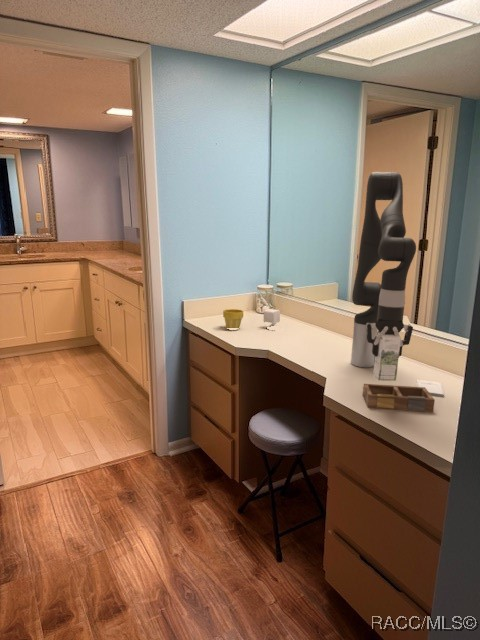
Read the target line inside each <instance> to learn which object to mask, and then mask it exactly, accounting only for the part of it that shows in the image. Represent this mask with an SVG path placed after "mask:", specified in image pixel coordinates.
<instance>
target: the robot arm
mask: <svg viewBox="0 0 480 640" xmlns="http://www.w3.org/2000/svg"><path fill="white" fill-rule="evenodd" d="M402 177H403V176H402V175H401V174H400V173H399V172H396V171H372V172H371V173H370V174H369V176H368V180H367V185H366V196H365V207H364V219H363V225H362V231H361V237H360V242H359V243H360V244H359V250H358V251H359V252H358V261H357V268H356V274H355V279H354V283H353V289H352V296H351V298H352V303H353V304H354V305H355V306H362V307H363V306H364V307H369V308H368V309H366V310H364V311H362V312H359V313H357V314H355V315H354V320H353V321H354V322H353V334H352V345H351V355H350V356H351V357H350V364H351V365H352V366H355V367H358V368H372V367H373V365H374V356H375V357H377V353H378V345H377V344H378V342H379V341H380V339H381V335H384V334H388V335H395V336H400V337H401V335H400V332H401V331H402V330H404V332H405V334H404V336H403V339H401V342H400V350H399V357H401V356H402V353H403V347H404V346H406V345H407V346H408V345H410V342H411V338H412V334H413V330H414V327H413V326H412V325H411V324H404V313H405V312H404V311H405V304H406V287H407V286H406V283H407V276H408V273H409V270H410V268H411V265H412V262H413V261H414V257H415V254H416V252H417V244H416V242H415V241H414V239H413V238H412V237H405V236H406V233H407V229H406V224H405V220H404V213H403V211H404V207H403V205H404V201H403V200H404V193H403V192H404V189H403V188H404V187H403V185H404V183H403V178H402ZM377 201H390V203H389V204H388V205H386V208H385V209H384V210H383V212H382V213H381V216H379V213H378V210H377V207H376V202H377ZM381 260H382V261H384V262H398V263H399V262H400V263H399V264H398V265H397V266H396V267H393V268H389V269H385V270H382V271H383V272H382V273H381V283H380V282H371V281H370V282H368V281H366V279H367V277H368V276H369V273H370V272H371V271H372V270H373V269H374V268H375V267H376V266H377V264H379V262H380V261H381ZM378 332H380V334H379V335H378Z"/></svg>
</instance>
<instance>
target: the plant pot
mask: <svg viewBox="0 0 480 640" xmlns="http://www.w3.org/2000/svg"><path fill="white" fill-rule="evenodd" d="M222 316H223V318H224V322H225V328H226V327H227V328H239V327H240V328H241V325H242V320H243V318H244V310H242V309H237V308H230V309H229V308H227V309H224V310H223V313H222ZM240 328H239V329H240Z"/></svg>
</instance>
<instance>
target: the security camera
mask: <svg viewBox="0 0 480 640" xmlns="http://www.w3.org/2000/svg"><path fill="white" fill-rule="evenodd" d="M280 318H281V310H280V309H275V308H266V309H265V310H263V322H264V323H269V324H270V325H269V327H271V326H276V324H277V323H280Z"/></svg>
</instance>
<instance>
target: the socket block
mask: <svg viewBox="0 0 480 640" xmlns="http://www.w3.org/2000/svg"><path fill="white" fill-rule="evenodd" d="M362 397H363V400H364V402H365V405H366V407H367V409H368V408H370V409H380V410H381V409H384V410H399V411H411V412H413V411H414V412H427V413H434V408H435V400H436V399H435V398H434V397H433V396H431V394H430V393H429V392H428V391H427V389H426V388H425V387H417V386H409V385H407V386H405V385H392V384H391V385H390V384H376V383H363V387H362Z"/></svg>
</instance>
